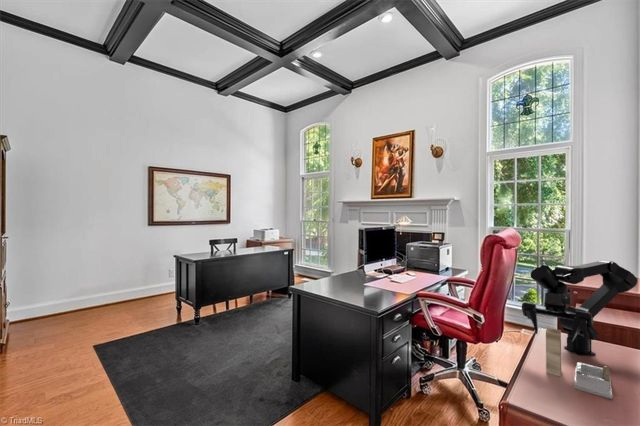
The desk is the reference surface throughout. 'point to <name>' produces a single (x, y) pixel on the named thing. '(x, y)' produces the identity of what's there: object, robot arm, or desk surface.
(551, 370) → the tan wooden block
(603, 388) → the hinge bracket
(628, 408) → the desk surface
